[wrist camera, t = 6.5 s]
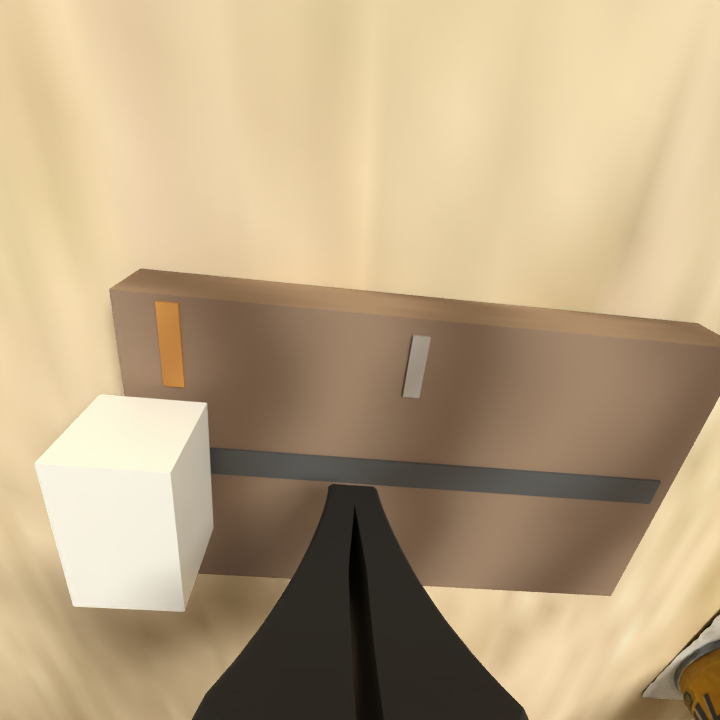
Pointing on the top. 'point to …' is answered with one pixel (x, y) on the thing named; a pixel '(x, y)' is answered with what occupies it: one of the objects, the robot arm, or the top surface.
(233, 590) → the top surface
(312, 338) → the fader board
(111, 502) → the fader tab
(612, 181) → the top surface
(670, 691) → the condiment
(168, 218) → the top surface
